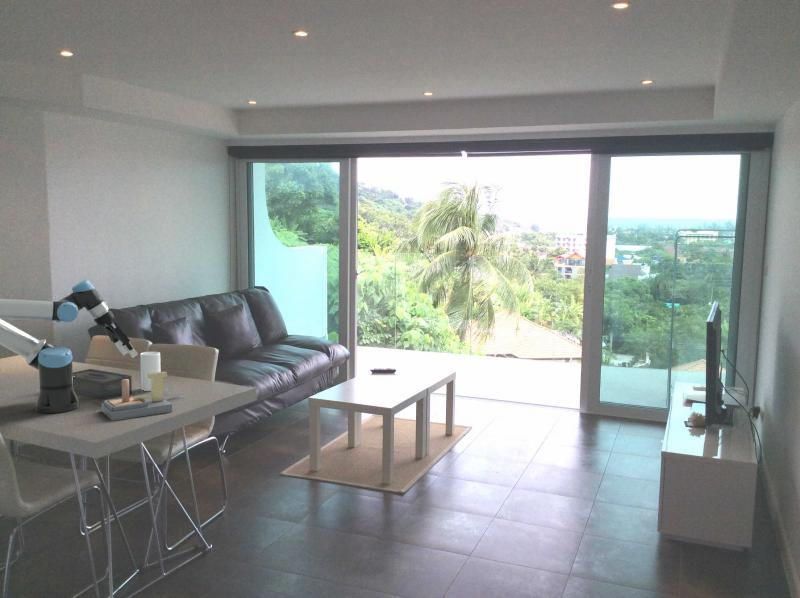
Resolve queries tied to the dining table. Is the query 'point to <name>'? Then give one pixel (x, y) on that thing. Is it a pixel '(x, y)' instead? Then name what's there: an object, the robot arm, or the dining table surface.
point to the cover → (124, 396)
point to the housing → (135, 409)
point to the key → (155, 387)
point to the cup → (149, 368)
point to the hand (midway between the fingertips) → (130, 354)
